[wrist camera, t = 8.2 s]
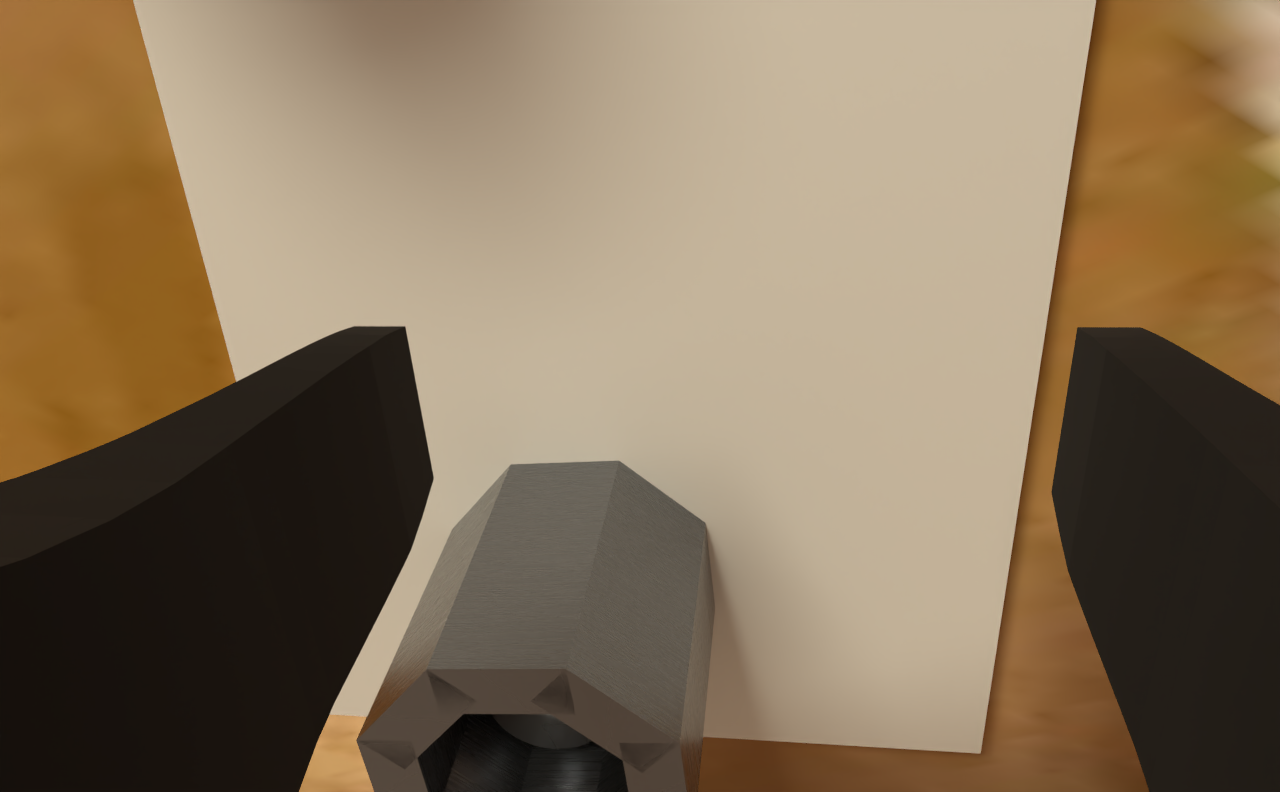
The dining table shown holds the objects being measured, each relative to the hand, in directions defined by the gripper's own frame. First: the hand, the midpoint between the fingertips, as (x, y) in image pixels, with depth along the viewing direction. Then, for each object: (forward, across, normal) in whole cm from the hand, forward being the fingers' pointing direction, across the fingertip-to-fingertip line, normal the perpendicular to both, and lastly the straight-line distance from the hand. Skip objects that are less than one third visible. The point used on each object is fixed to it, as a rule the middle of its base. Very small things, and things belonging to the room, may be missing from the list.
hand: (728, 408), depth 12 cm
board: (+9, +3, +3) cm, 10 cm away
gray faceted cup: (+8, +4, +9) cm, 13 cm away
